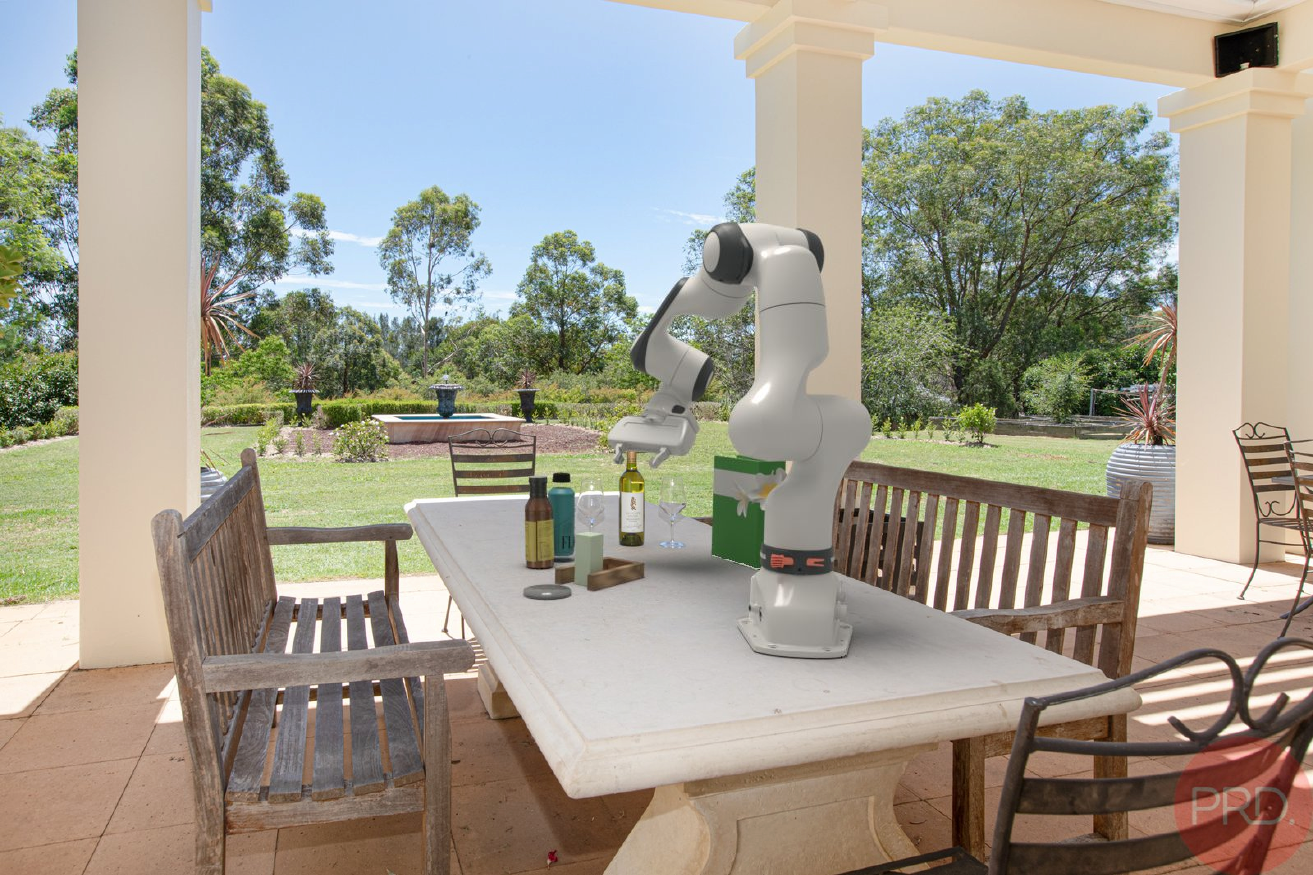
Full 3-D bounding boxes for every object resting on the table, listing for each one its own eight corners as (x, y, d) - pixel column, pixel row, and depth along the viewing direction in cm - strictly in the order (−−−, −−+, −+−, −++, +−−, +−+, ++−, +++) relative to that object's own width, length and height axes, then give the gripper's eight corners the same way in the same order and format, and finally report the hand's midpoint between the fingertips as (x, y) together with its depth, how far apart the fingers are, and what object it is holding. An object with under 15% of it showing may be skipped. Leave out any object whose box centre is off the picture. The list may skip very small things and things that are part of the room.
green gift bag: (711, 555, 203) (714, 455, 202) (736, 553, 207) (739, 455, 206) (756, 570, 188) (759, 461, 187) (782, 567, 192) (785, 461, 190)
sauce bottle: (556, 564, 189) (558, 475, 188) (550, 570, 183) (552, 478, 181) (527, 563, 189) (529, 474, 188) (520, 568, 183) (522, 477, 182)
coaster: (565, 600, 156) (565, 596, 156) (517, 598, 157) (517, 594, 157) (575, 589, 165) (575, 585, 165) (530, 587, 166) (530, 583, 166)
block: (587, 580, 174) (588, 531, 173) (602, 583, 172) (603, 534, 171) (574, 583, 171) (575, 534, 170) (589, 586, 168) (590, 536, 168)
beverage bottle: (561, 564, 189) (562, 474, 188) (539, 560, 193) (541, 472, 192) (580, 560, 194) (582, 472, 193) (559, 556, 198) (561, 470, 197)
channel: (607, 570, 184) (607, 556, 184) (644, 577, 178) (644, 562, 178) (554, 583, 170) (555, 568, 170) (593, 591, 165) (593, 575, 164)
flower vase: (718, 597, 162) (722, 466, 161) (800, 590, 170) (804, 465, 168) (752, 614, 150) (756, 473, 149) (839, 605, 158) (844, 471, 156)
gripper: (619, 404, 191) (590, 450, 183) (695, 409, 179) (667, 458, 171) (631, 424, 195) (602, 469, 187) (706, 429, 183) (679, 478, 175)
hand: (634, 464), depth 179 cm, fingers open, 8 cm apart
